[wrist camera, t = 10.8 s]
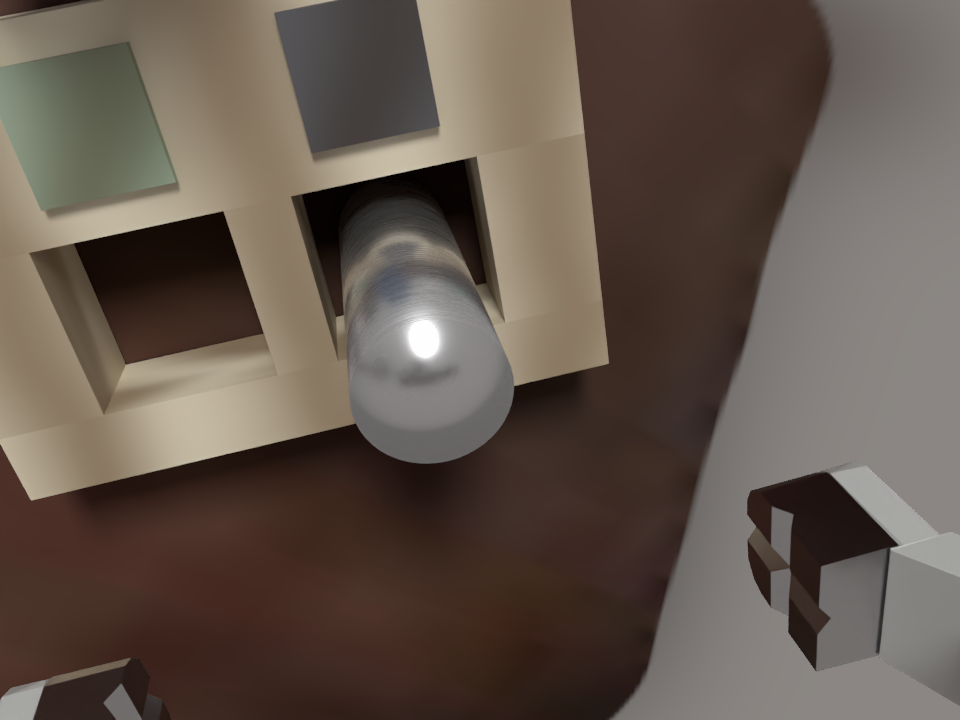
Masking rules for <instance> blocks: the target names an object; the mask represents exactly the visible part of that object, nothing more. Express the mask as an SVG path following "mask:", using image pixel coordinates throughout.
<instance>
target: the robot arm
mask: <svg viewBox="0 0 960 720" xmlns="http://www.w3.org/2000/svg"><path fill="white" fill-rule="evenodd" d="M747 514H748V516H749V517H750V519H751V520H752V521H753V523H754V524H755V525H756V528H755V530H754V531H753V533H752V534H751V536H750V537H749V538H748V558H749V562H750V566H751V569H752V573H753V576H754V579H755V581H756V583H757V585H758V587H759V590H760V591H761V593H762V595H763V596H764V598H765V599H766V601H767V602H768V604H769V605H770V607H771V608H774V609H775V610H778V611H780V612H782V613H784V614H786V615H788V616H789V626H788V627H789V629H788V632H789V634H790V635H791V637H792V638H793V640H794V641H795V643H796V644H797V645H798V647H799V648H800V649H801V651H802V652H803V653H804V655H805V657H806V658H807V659H808V661H809V662H810V663H811V665H812V666H813V668H814V669H815V671H820V670H824V669H828V668H832V667H835V666H839V665H843V664H847V663H851V662H854V661H858V660H862V659H866V658H870V657H874V656H877V655H879V659H881V660H882V661H884V662H886V663H887V664H889V665H891V666H893V667H895V668H896V669H898V670H899V671H901V672H903V673H905V674H906V675H908V676H910V677H911V678H913V679H915V680H916V681H918V682H920V683H922V684H923V685H925V686H927V687H928V688H930V689H932V690H934V691H935V692H937V693H939V694H940V695H942V696H944V697H945V698H947V699H949V700H951V701H952V702H954V703H956V704H957V705H959V706H960V535H958V534H955V533H952V532H949V533H946V534H942V535H940V534H939V533H938V532H936V531H935V530H934V529H933V528H932V527H931V526H930V525H929V524H928V523H927V522H926V521H925V520H924V519H922V518H921V516H919V515H918V514H917V513H916V512H915V511H914V510H913V509H912V508H911V507H910V506H909V505H908V504H906V503H905V502H904V501H903V500H902V499H901V498H900V497H899V496H898V495H897V494H896V493H895V492H894V491H893V490H892V489H890V488H889V487H888V486H887V485H886V484H885V483H884V482H883V481H882V480H880V478H879V477H878V476H876V475H875V474H874V473H873V472H872V471H871V470H870V469H869V468H868V467H867V466H866V465H865V464H863V463H860V462H857V461H854V462H850V463H847V464H844V465H840V466H836V467H833V468H829V469H826V470H822V471H820V472H819V473H813V474H810V475H806V476H802V477H799V478H795V479H792V480H788V481H784V482H781V483H777V484H774V485H770V486H766V487H763V488H759V489H756V490H752V491H751V492H750V494H749V497H748V502H747ZM149 679H150V676H149V674H148V673H147V671H146V669H145V668H144V666H143V664H142V663H141V661H140V659H135V658H129V659H125V660H120V661H116V662H112V663H108V664H104V665H100V666H96V667H92V668H88V669H84V670H80V671H75V672H71V673H67V674H63V675H59V676H55V677H52V678H51V679H47V680H43V681H39V682H35V683H30V684H26V685H22V686H18V687H13V688H11V689H10V690H9V691H8V692H7V693H6V694H5V695H4V696H3V697H2V698H1V700H0V720H171V718H170V714H169V712H168V710H167V708H166V706H165V704H164V702H163V701H162V700H160V699H158V698H156V697H154V696H151V695H149V694H147V691H148V685H149Z"/></svg>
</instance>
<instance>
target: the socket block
mask: <svg viewBox="0 0 960 720" xmlns="http://www.w3.org/2000/svg"><path fill="white" fill-rule="evenodd" d="M462 159H464V161H465V167H466V172H467V178H468V183H469V189H470V194H471V200H472V206H473V211H474V217H475V222H476V228H477V234H478V239H479V245H480V250H481V256H482V261H483V267H484V273H485V278H486V283H484V284H480V285H475V286H476V288H477V290H478V293H479V295H480V297H481V299H482V302H483V304H484V306H485V308H486V311H487V313H488V315H489V317H490V320H491V322H492V324H493V327H494V329H495V331H496V333H497V336H498V338H499V340H500V342H501V345H502V347H503V349H504V351H505V354H506V356H507V358H508V361H509V363H510V365H511V369H512V373H513V378H514V386H516V385H520V384H525V383H529V382H533V381H537V380H542V379H546V378H550V377H554V376H558V375H563V374H567V373H571V372H575V371H579V370H584V369H588V368H592V367H596V366H601V365H605V364H609V360H608V351H607V341H606V332H605V323H604V313H603V304H602V295H601V285H600V276H599V266H598V257H597V248H596V238H595V229H594V220H593V210H592V201H591V191H590V182H589V173H588V163H587V154H586V144H585V135H584V126H583V116H582V107H581V98H580V88H579V79H578V69H577V60H576V51H575V41H574V32H573V23H572V13H571V4H570V0H83V1H78V2H73V3H68V4H63V5H58V6H53V7H48V8H42V9H37V10H32V11H27V12H22V13H17V14H12V15H7V16H1V17H0V444H1V446H2V448H3V450H4V452H5V453H6V455H7V457H8V459H9V461H10V463H11V464H12V466H13V468H14V470H15V472H16V474H17V475H18V477H19V479H20V481H21V483H22V485H23V486H24V488H25V490H26V492H27V494H28V496H29V497H30V499H31V500H35V499H39V498H44V497H48V496H52V495H56V494H61V493H65V492H69V491H73V490H77V489H82V488H86V487H90V486H94V485H99V484H103V483H107V482H111V481H115V480H120V479H124V478H128V477H132V476H136V475H141V474H145V473H149V472H153V471H158V470H162V469H166V468H170V467H174V466H179V465H183V464H187V463H191V462H196V461H200V460H204V459H208V458H212V457H217V456H221V455H225V454H229V453H234V452H238V451H242V450H246V449H250V448H255V447H259V446H263V445H267V444H271V443H276V442H280V441H284V440H288V439H293V438H297V437H301V436H305V435H309V434H314V433H318V432H322V431H326V430H331V429H335V428H339V427H343V426H347V425H352V424H356V423H355V420H354V418H353V415H352V411H351V406H350V395H349V381H348V366H347V351H346V337H345V322H344V315H343V316H339V317H336V315H335V312H334V308H333V304H332V301H331V297H330V294H329V290H328V287H327V283H326V280H325V276H324V272H323V269H322V265H321V262H320V258H319V255H318V251H317V248H316V244H315V240H314V237H313V233H312V230H311V226H310V223H309V219H308V215H307V212H306V208H305V205H304V201H303V198H302V194H305V193H309V192H314V191H319V190H323V189H328V188H333V187H337V186H342V185H346V184H351V183H356V182H360V181H365V180H370V179H374V178H379V177H384V176H388V175H393V174H397V173H402V172H407V171H411V170H416V169H421V168H425V167H430V166H434V165H439V164H444V163H448V162H453V161H458V160H462ZM221 211H224V214H225V217H226V220H227V223H228V226H229V229H230V232H231V235H232V238H233V241H234V244H235V247H236V250H237V253H238V256H239V260H240V263H241V266H242V269H243V272H244V275H245V278H246V281H247V284H248V287H249V290H250V293H251V296H252V299H253V302H254V305H255V308H256V311H257V314H258V317H259V320H260V323H261V326H262V329H263V332H264V334H260V335H255V336H251V337H247V338H242V339H238V340H233V341H229V342H225V343H220V344H216V345H211V346H207V347H203V348H198V349H194V350H189V351H185V352H181V353H176V354H172V355H167V356H163V357H159V358H154V359H150V360H145V361H141V362H137V363H132V364H128V365H126V364H125V361H124V359H123V357H122V354H121V352H120V350H119V347H118V345H117V343H116V341H115V338H114V336H113V334H112V331H111V329H110V327H109V324H108V322H107V320H106V317H105V315H104V313H103V310H102V308H101V306H100V303H99V301H98V299H97V296H96V294H95V292H94V290H93V287H92V285H91V283H90V280H89V278H88V276H87V273H86V271H85V269H84V266H83V264H82V262H81V259H80V257H79V255H78V252H77V250H76V248H75V245H74V243H78V242H82V241H87V240H92V239H96V238H101V237H105V236H110V235H115V234H119V233H124V232H129V231H133V230H138V229H143V228H147V227H152V226H156V225H161V224H166V223H170V222H175V221H180V220H184V219H189V218H194V217H198V216H203V215H207V214H212V213H217V212H221Z"/></svg>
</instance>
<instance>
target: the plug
mask: <svg viewBox="0 0 960 720" xmlns="http://www.w3.org/2000/svg"><path fill="white" fill-rule="evenodd" d="M338 234H339V249H340V264H341V278H342V293H343V307H344V322H345V337H346V351H347V366H348V381H349V395H350V406H351V411H352V415H353V418H354V420H355V423H356V425H357V426H358V428H359V430H360V431H361V433H362V434H363V435H364V437H365V438H366V439H367V440H368V441H369V442H370V443H371V444H372V445H373V446H375V447H376V448H377V449H379V450H380V451H382V452H384V453H385V454H387V455H389V456H391V457H394V458H396V459H399V460H403V461H407V462H413V463H425V464H429V463H440V462H445V461H450V460H453V459H457V458H459V457H462V456H464V455H467V454H469V453H470V452H472V451H474V450H476V449H477V448H479V447H480V446H482V445H483V444H484V443H486V442H487V441H488V440H489V439H490V438H491V437H492V436H493V435H494V434H495V433H496V432H497V431H498V429H499V428H500V427H501V425H502V424H503V422H504V421H505V419H506V417H507V415H508V413H509V410H510V407H511V404H512V400H513V395H514V378H513V373H512V369H511V365H510V363H509V361H508V358H507V356H506V354H505V351H504V349H503V347H502V345H501V342H500V340H499V338H498V336H497V333H496V331H495V329H494V327H493V324H492V322H491V320H490V317H489V315H488V313H487V311H486V308H485V306H484V304H483V302H482V299H481V297H480V295H479V293H478V290H477V288H476V286H475V283H474V281H473V279H472V277H471V274H470V272H469V270H468V268H467V265H466V263H465V261H464V259H463V256H462V254H461V252H460V249H459V247H458V245H457V243H456V240H455V238H454V236H453V234H452V231H451V229H450V227H449V225H448V222H447V220H446V218H445V215H444V213H443V211H442V209H441V206H440V205H439V203H438V201H437V200H436V198H435V197H434V196H433V195H432V194H431V193H430V192H429V191H428V190H427V189H426V188H424V187H423V186H421V185H420V184H418V183H416V182H413V181H411V180H408V179H404V178H396V177H388V178H381V179H377V180H374V181H371V182H369V183H367V184H365V185H363V186H362V187H360V188H359V189H358V190H356V191H355V192H354V193H353V194H352V195H351V196H350V198H349V199H348V200H347V202H346V203H345V205H344V207H343V209H342V212H341V214H340V218H339V225H338Z"/></svg>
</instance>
